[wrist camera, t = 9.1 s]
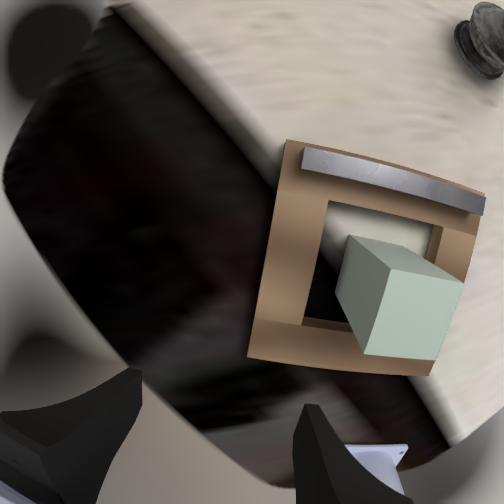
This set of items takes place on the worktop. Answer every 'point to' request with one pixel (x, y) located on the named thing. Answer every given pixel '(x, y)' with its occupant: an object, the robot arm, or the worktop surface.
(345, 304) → the peg
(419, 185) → the metal rail
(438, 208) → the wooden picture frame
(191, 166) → the worktop surface
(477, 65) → the grey chess piece
